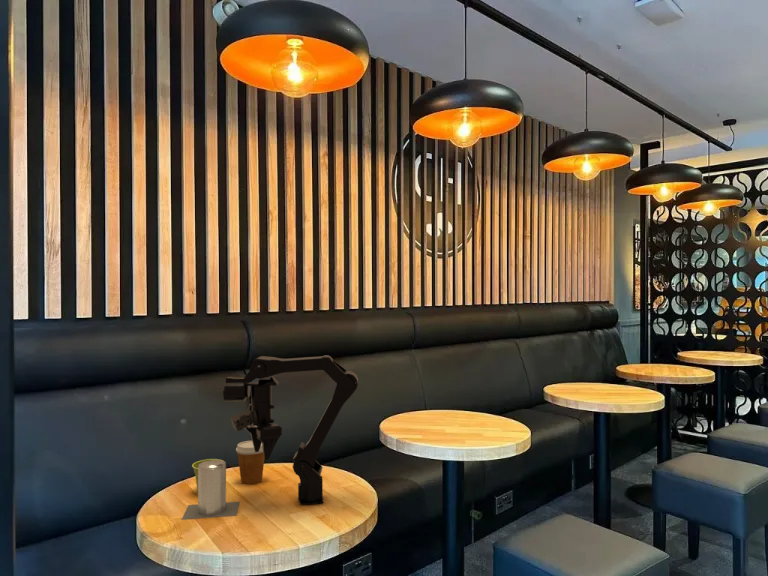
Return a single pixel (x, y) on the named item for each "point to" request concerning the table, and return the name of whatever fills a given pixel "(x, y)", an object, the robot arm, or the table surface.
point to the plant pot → (195, 466)
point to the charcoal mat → (193, 514)
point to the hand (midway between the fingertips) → (261, 455)
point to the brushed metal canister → (211, 487)
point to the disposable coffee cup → (250, 463)
